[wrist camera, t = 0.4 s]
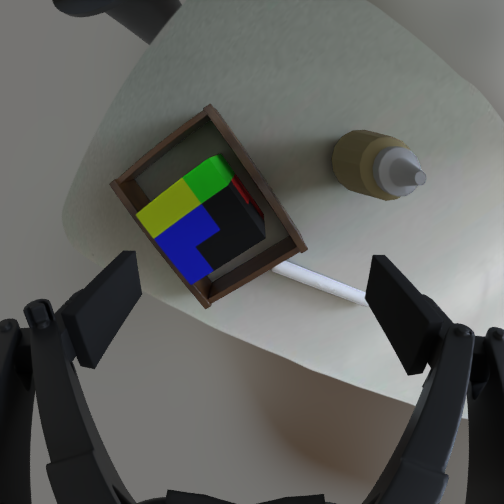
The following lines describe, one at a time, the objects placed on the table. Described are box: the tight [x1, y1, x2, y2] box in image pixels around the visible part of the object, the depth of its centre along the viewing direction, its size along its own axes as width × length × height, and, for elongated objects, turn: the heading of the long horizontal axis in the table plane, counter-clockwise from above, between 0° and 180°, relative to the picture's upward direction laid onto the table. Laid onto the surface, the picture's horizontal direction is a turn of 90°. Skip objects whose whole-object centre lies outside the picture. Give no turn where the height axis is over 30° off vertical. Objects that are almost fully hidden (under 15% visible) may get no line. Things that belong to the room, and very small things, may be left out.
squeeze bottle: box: [332, 130, 426, 201], centre depth 28 cm, size 8×8×18 cm
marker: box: [271, 261, 369, 306], centre depth 42 cm, size 18×2×2 cm, turn 67°
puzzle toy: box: [136, 153, 266, 285], centre depth 35 cm, size 10×10×10 cm
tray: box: [109, 104, 308, 309], centre depth 37 cm, size 21×16×6 cm
